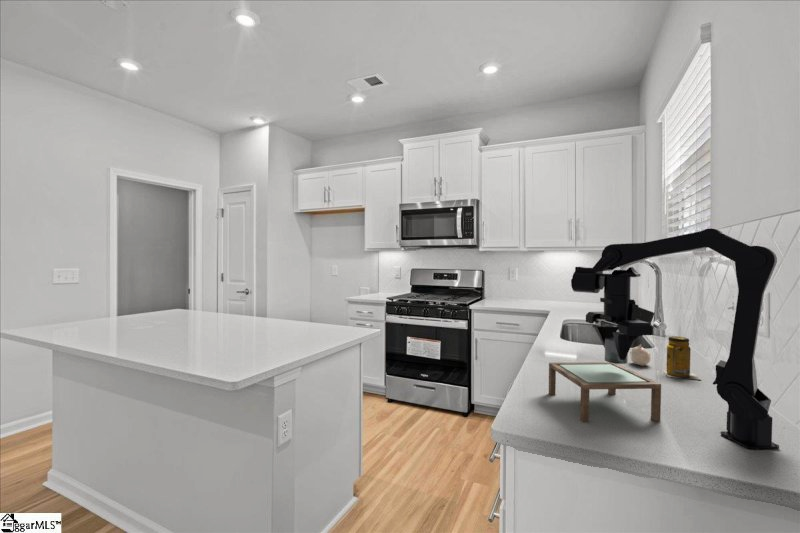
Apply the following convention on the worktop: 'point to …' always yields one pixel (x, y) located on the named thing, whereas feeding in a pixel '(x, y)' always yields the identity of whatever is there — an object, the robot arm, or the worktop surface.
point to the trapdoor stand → (606, 387)
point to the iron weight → (613, 352)
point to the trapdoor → (601, 373)
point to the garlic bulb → (640, 356)
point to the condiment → (679, 358)
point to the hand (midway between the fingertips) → (616, 356)
